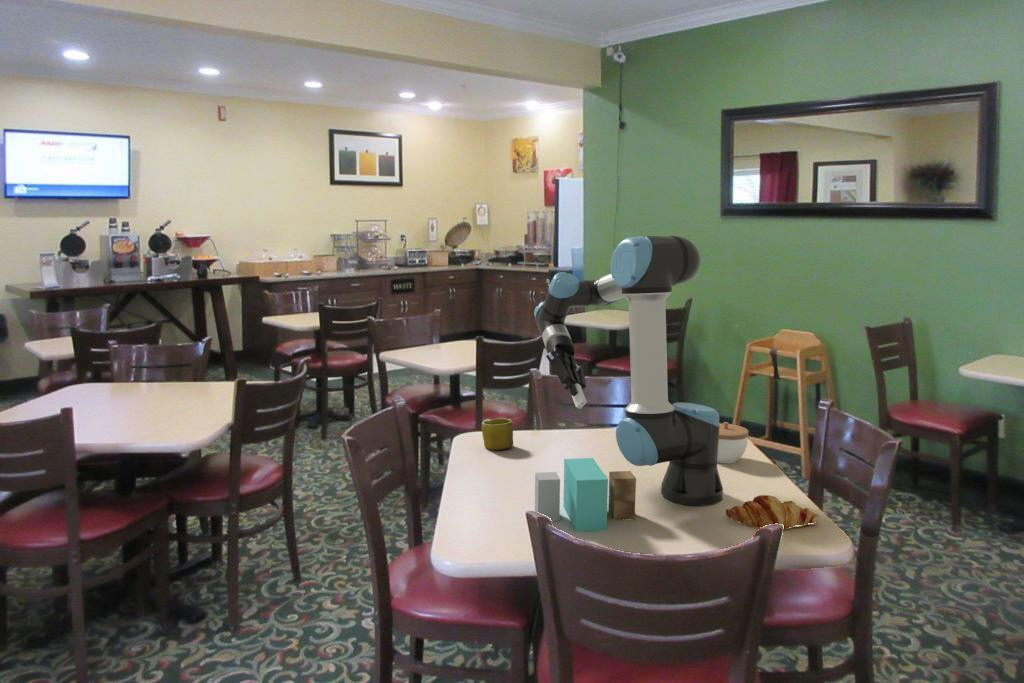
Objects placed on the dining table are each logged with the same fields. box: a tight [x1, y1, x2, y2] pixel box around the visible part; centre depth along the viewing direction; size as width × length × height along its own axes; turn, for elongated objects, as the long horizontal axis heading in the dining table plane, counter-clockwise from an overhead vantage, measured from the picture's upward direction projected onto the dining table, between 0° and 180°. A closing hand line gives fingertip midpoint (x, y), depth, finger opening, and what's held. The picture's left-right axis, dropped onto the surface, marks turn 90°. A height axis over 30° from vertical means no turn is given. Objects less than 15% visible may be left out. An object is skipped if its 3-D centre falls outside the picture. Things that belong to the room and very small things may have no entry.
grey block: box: [534, 471, 561, 522], centre depth 178 cm, size 5×5×10 cm
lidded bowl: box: [717, 421, 750, 465], centre depth 220 cm, size 13×13×11 cm
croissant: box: [725, 494, 821, 530], centre depth 176 cm, size 21×10×8 cm, turn 88°
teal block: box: [562, 457, 609, 533], centre depth 178 cm, size 7×15×12 cm, turn 7°
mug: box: [481, 418, 514, 451], centre depth 232 cm, size 12×10×10 cm
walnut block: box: [607, 470, 637, 521], centre depth 180 cm, size 5×5×10 cm
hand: (581, 404), depth 197 cm, fingers closed
